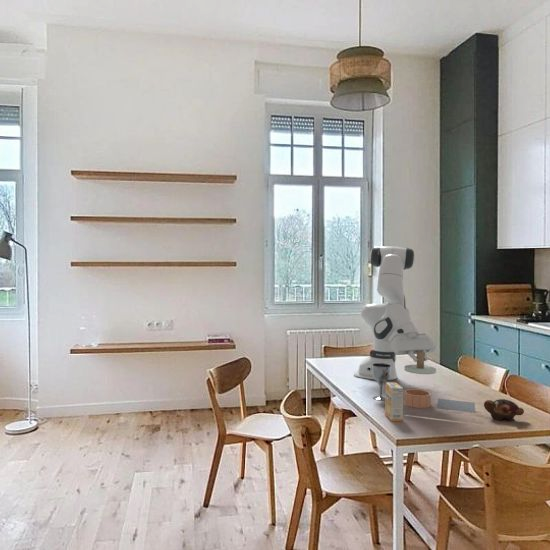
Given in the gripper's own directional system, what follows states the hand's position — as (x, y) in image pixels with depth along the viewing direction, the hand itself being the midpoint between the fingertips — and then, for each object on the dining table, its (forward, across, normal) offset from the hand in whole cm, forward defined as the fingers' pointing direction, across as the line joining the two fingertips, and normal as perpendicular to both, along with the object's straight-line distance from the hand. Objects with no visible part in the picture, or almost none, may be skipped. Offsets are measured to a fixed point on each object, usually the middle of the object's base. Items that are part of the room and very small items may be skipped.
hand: (421, 360), depth 209 cm
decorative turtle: (+32, -20, +5) cm, 38 cm away
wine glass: (+3, +10, -24) cm, 26 cm away
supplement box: (+21, +21, -6) cm, 30 cm away
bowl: (+13, +1, -14) cm, 19 cm away
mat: (+18, -14, -9) cm, 25 cm away
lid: (+3, 0, -4) cm, 4 cm away
